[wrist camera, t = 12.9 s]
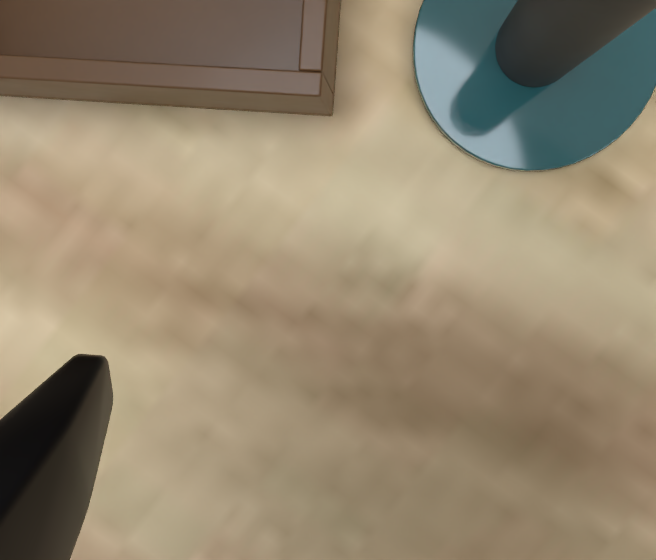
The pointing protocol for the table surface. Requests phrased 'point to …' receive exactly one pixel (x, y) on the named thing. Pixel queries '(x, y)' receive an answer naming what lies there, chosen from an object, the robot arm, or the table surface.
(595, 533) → the table surface
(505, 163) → the coaster
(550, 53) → the marker
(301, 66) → the box
